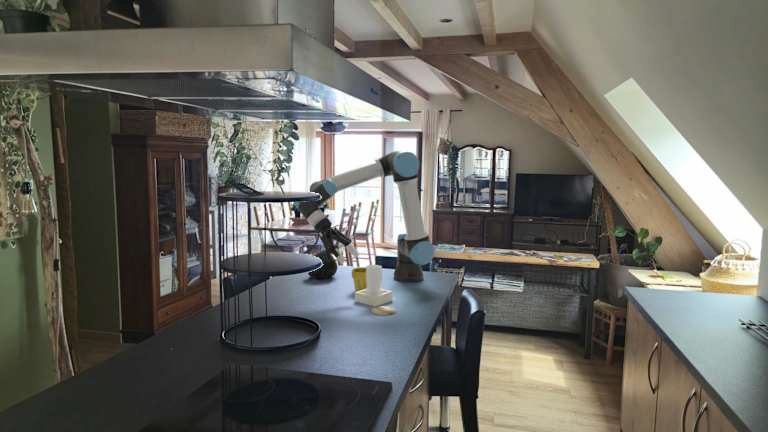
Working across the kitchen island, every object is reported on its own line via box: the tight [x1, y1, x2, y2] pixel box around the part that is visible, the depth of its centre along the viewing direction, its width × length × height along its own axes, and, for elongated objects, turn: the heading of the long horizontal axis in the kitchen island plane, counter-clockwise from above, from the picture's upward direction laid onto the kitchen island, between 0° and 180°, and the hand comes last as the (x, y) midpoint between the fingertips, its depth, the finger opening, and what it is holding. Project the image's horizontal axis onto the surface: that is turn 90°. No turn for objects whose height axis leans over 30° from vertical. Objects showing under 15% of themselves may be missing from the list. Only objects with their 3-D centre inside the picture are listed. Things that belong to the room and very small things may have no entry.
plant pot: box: [351, 267, 367, 292], centre depth 231 cm, size 10×10×10 cm
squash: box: [307, 249, 338, 279], centre depth 255 cm, size 14×15×15 cm
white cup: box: [365, 264, 383, 296], centre depth 214 cm, size 7×7×15 cm
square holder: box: [354, 288, 393, 307], centre depth 215 cm, size 11×11×4 cm
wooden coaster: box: [370, 305, 397, 316], centre depth 201 cm, size 10×10×1 cm
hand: (350, 259), depth 217 cm, fingers open, 13 cm apart
